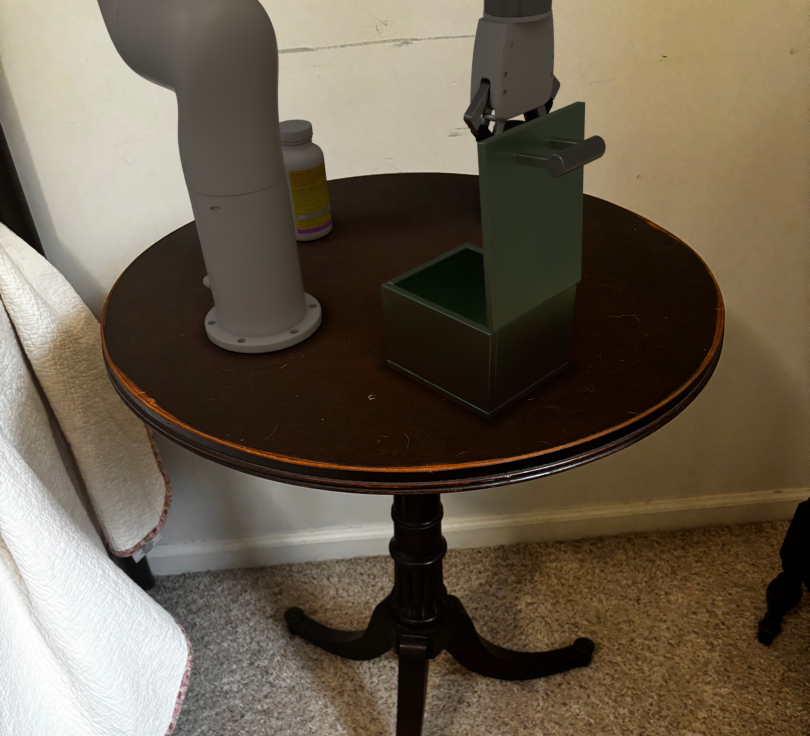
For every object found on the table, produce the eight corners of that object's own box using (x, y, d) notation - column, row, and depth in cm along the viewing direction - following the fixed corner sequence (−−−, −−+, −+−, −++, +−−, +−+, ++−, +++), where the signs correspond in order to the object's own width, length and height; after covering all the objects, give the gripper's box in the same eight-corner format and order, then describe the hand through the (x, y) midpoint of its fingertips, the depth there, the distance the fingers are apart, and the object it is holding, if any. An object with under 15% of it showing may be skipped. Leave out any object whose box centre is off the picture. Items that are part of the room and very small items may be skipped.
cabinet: (386, 366, 80) (380, 284, 74) (466, 321, 85) (466, 241, 79) (488, 421, 73) (490, 334, 66) (568, 368, 78) (577, 284, 72)
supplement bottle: (343, 226, 104) (331, 120, 95) (312, 247, 100) (297, 138, 91) (302, 217, 107) (287, 113, 98) (271, 236, 103) (252, 130, 94)
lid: (476, 142, 57) (533, 150, 54) (577, 100, 62) (634, 106, 59) (487, 328, 66) (535, 345, 63) (574, 278, 72) (623, 291, 69)
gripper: (541, -19, 93) (532, 142, 106) (437, 11, 85) (440, 182, 97) (594, -12, 89) (578, 155, 102) (489, 20, 81) (486, 198, 93)
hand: (510, 167), depth 99 cm, fingers open, 6 cm apart
